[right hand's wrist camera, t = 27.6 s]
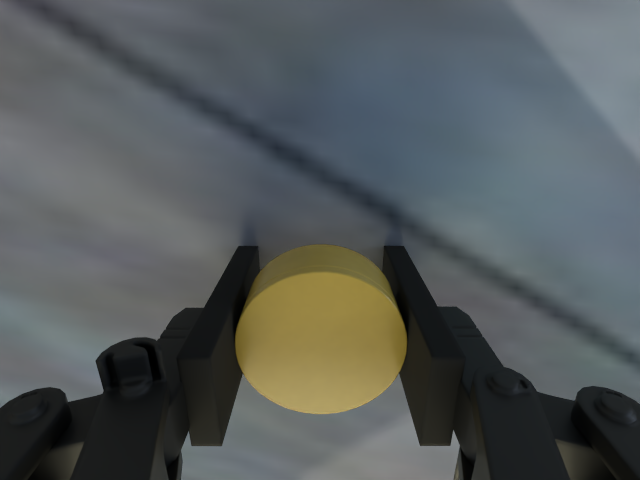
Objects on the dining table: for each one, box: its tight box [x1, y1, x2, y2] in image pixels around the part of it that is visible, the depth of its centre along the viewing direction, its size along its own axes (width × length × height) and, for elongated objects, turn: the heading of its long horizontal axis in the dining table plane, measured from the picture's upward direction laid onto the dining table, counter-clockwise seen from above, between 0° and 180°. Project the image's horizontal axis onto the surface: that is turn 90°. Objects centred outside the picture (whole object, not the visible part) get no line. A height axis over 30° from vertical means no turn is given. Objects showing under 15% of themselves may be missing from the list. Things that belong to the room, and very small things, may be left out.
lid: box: [235, 244, 407, 414], centre depth 11 cm, size 5×5×2 cm
